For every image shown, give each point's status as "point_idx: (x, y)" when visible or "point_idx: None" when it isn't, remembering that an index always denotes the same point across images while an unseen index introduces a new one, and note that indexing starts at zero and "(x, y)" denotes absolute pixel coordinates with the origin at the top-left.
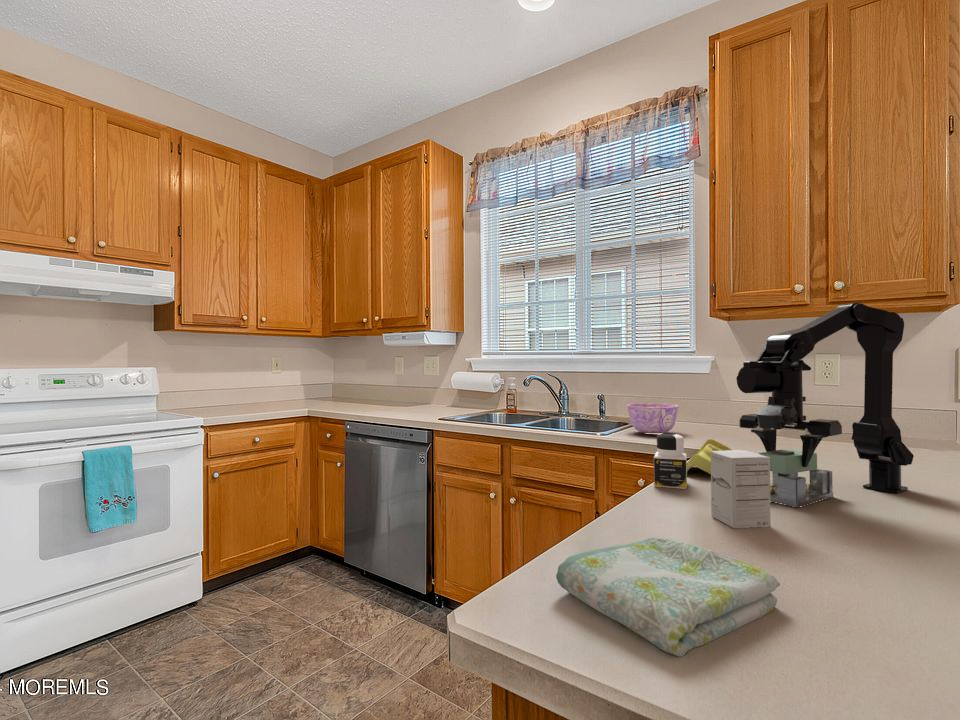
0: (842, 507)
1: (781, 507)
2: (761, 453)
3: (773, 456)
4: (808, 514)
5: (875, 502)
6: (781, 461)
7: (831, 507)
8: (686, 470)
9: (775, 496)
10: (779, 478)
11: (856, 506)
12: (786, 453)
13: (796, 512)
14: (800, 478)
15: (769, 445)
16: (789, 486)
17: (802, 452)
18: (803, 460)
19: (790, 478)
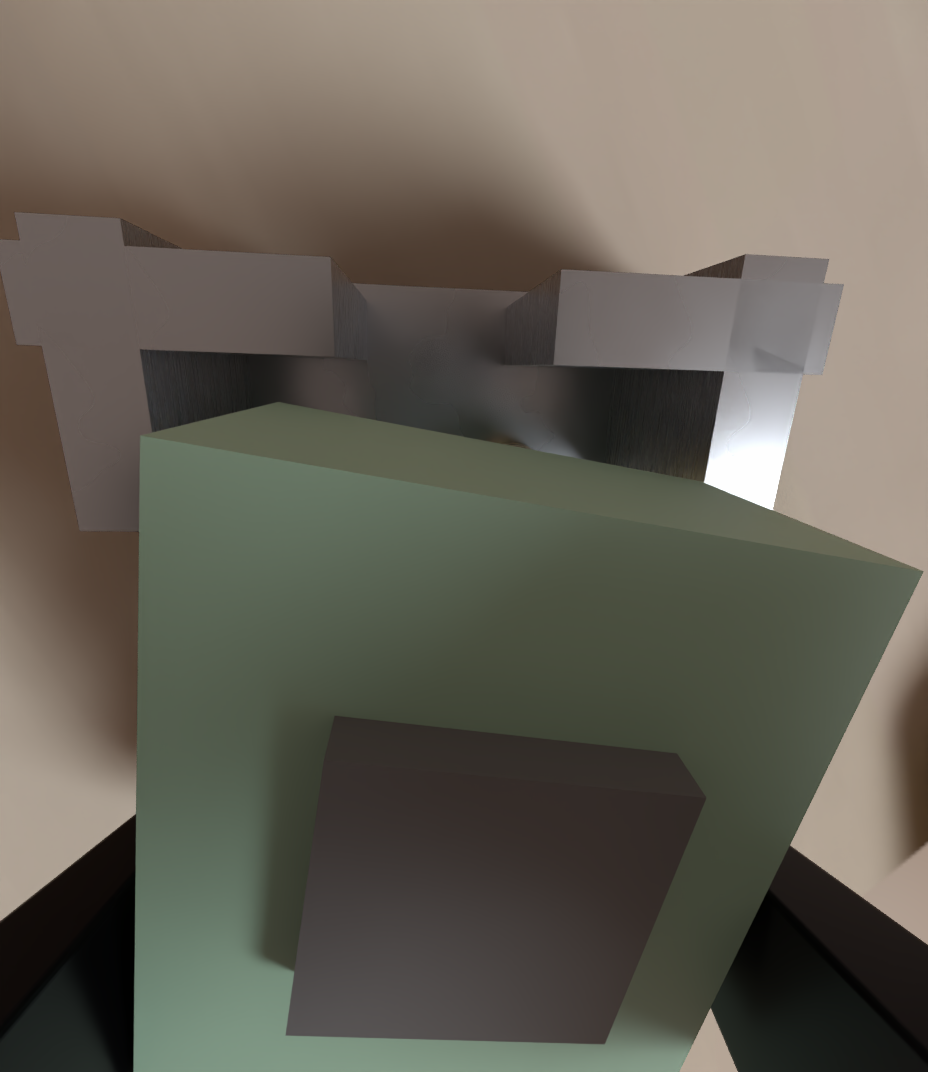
0: (37, 603)
1: (280, 189)
2: (857, 557)
3: (514, 490)
4: (3, 133)
5: (30, 876)
6: (300, 440)
7: (74, 540)
8: None
9: (420, 367)
10: (303, 260)
11: (13, 702)
12: (317, 798)
13: (102, 112)
14: (72, 413)
15: (894, 1057)
16: (176, 248)
17: (2, 1021)
18: (123, 851)
19: (142, 286)
